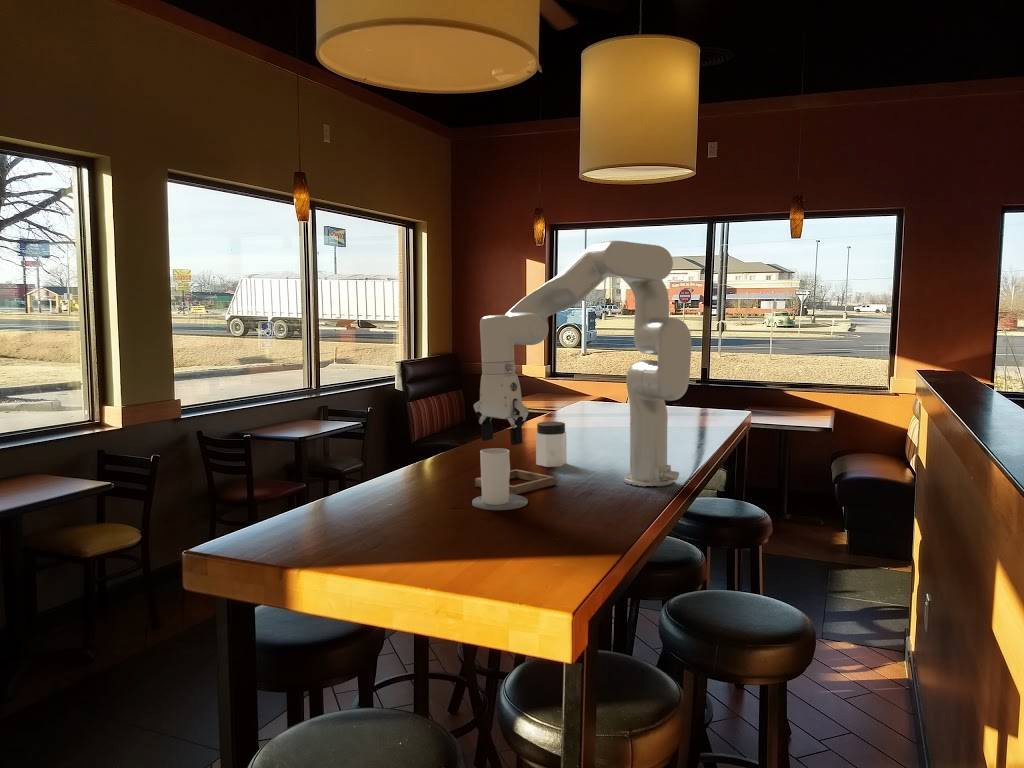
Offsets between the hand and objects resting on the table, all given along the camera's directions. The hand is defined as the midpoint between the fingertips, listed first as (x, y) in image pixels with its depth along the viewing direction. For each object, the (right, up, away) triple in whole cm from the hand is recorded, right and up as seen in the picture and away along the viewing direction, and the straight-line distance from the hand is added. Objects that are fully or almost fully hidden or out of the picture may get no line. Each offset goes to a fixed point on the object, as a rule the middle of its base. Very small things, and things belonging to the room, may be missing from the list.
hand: (501, 442), depth 178 cm
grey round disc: (0, -14, +1) cm, 14 cm away
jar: (+14, -10, +45) cm, 48 cm away
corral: (+3, -13, +19) cm, 23 cm away
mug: (-1, -14, +1) cm, 14 cm away
